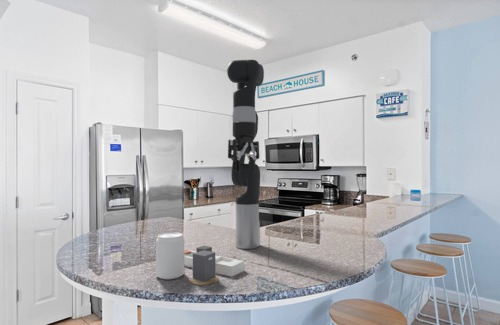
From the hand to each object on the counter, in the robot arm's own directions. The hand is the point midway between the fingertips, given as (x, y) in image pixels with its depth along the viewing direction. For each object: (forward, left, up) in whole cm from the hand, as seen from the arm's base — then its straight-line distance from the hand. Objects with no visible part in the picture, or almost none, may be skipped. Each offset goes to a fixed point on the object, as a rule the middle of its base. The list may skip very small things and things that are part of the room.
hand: (244, 172), depth 102 cm
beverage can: (+19, -14, -30) cm, 38 cm away
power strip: (+7, -11, -30) cm, 33 cm away
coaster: (+16, -3, -30) cm, 34 cm away
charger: (+16, -3, -30) cm, 34 cm away
